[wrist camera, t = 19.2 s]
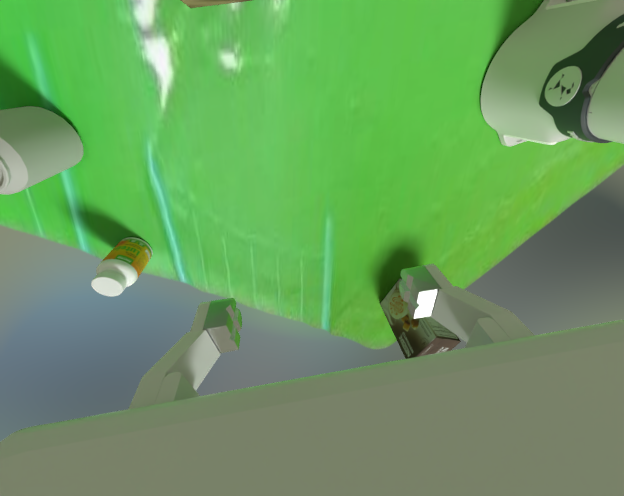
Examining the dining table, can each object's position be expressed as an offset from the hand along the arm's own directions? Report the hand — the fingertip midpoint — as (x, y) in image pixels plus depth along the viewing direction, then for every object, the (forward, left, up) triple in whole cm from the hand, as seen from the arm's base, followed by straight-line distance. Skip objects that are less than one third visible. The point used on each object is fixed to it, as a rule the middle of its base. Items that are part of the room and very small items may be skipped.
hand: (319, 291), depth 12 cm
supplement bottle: (+30, +14, -31) cm, 46 cm away
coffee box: (-21, +38, -31) cm, 54 cm away
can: (+31, -5, -31) cm, 44 cm away
